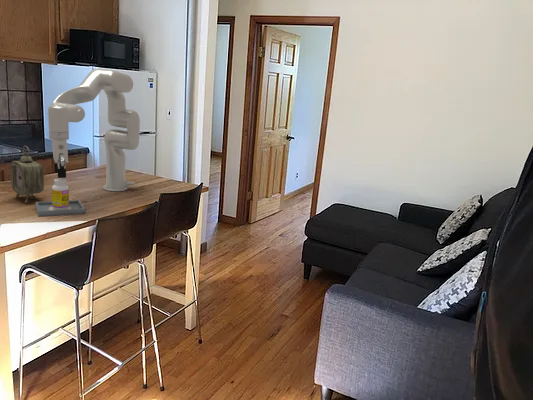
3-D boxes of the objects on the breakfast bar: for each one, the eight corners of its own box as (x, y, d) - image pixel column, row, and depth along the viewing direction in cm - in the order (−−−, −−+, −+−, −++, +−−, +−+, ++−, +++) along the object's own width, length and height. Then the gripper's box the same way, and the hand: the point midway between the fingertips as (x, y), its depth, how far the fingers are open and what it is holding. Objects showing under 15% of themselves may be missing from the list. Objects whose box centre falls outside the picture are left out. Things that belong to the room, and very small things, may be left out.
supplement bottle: (62, 211, 189) (61, 182, 186) (48, 208, 190) (48, 180, 187) (72, 207, 196) (71, 179, 192) (59, 204, 197) (58, 177, 193)
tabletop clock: (12, 196, 204) (9, 143, 198) (32, 194, 211) (30, 142, 204) (24, 204, 195) (22, 149, 189) (45, 202, 202) (44, 148, 195)
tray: (79, 204, 204) (79, 200, 203) (84, 213, 192) (84, 208, 192) (35, 206, 194) (35, 202, 194) (38, 216, 183) (38, 211, 182)
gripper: (71, 139, 180) (73, 179, 185) (65, 132, 194) (67, 169, 199) (51, 139, 176) (53, 180, 181) (46, 131, 190) (48, 170, 195)
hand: (60, 174), depth 190 cm, fingers open, 9 cm apart
